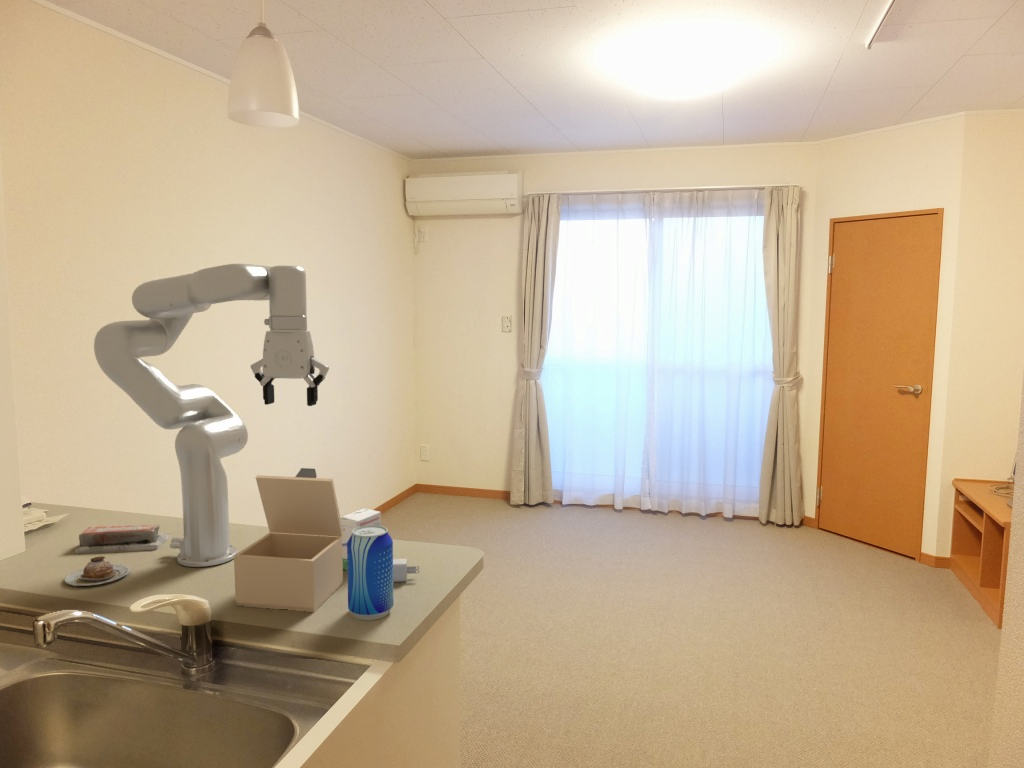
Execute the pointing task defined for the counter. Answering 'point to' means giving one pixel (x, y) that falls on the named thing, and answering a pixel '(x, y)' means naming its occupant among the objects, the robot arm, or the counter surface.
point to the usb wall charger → (402, 570)
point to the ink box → (353, 522)
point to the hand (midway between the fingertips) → (290, 404)
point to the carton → (288, 572)
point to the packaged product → (120, 539)
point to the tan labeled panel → (300, 504)
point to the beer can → (370, 572)
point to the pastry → (97, 572)
